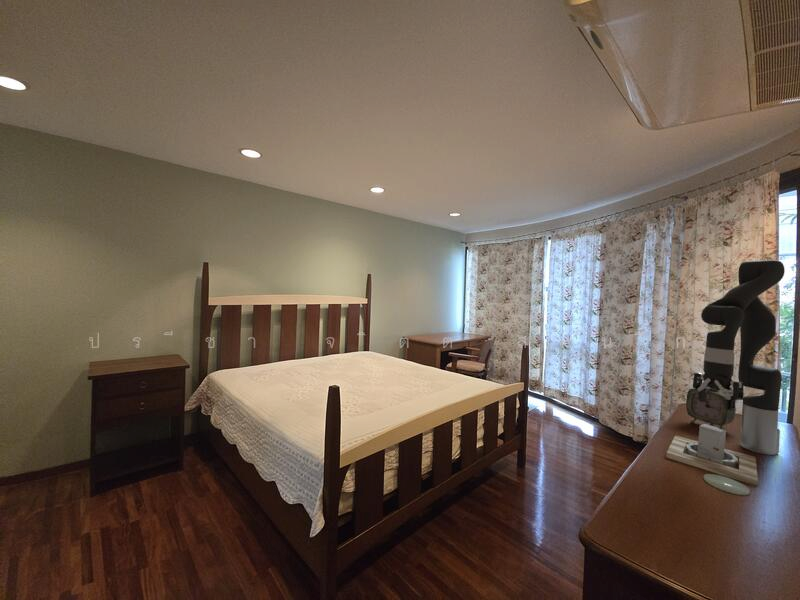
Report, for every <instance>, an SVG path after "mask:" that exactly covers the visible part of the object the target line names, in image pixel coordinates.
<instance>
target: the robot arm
mask: <svg viewBox="0 0 800 600" xmlns="http://www.w3.org/2000/svg"><path fill="white" fill-rule="evenodd" d="M785 271H786V269H785V265H784V263H783V262H782V261H781V260H777V259H763V260H748V261H747V260H746V261H742V263H741V264H740V265H739V267H738V274H737V275H738V276H737V277H738V285H736V286H734V287H733V288H731V289H729V291H727V292H726V293H725V294H724V295H723V296H722V298H719V299H717V300H715V301H713V302H711V303H708V304H707V305H706V306H704V308H703V309H702V311H701V313H700V317H701V320H702V321H703V322H704V323H705V324H707V325H713V326H724V327H723V329H722V330H717V331H709V332H708V333H707V334H706V342H705V343H706V344H705V350H704V357H703V369H702V371H703V372H704V374H703V373H702V372H694V373H693V380H692V381H693V382H692V389H694V388H695V389H697V390H698V391H699V393H698V399H699V401H700V402H706V397H707V392H706V391H707V390H708V389H710V388H715V389H717V390H719V391H721V392H722V393H724V394H725V396H726V398H727V399H726V410H729V411H733V409H735V407H736V401H739V400H740V401H742V412H741V416H742V417H741V431H740V432H741V433H740V446H741V447H742V448H744V449H746V450H749V451H751V452H753V453H758V454H763V455H767V456H776V455H779V454H780V453H779V452H780V437H781V435H780V434H781V430H780V429H779V428H778V422H779V405H780V396H781V395H780V394H781V388H782V381H783V379H782V378H783V377H782V376H783V375H782V373H781V371H780V370H779V369H778V368H774V367H769V366H768V367H767V366H761V365H755V364H754V360H755V358H756V355H757V354H758V353H759V352H760V351H761V350H762V349H763V348H765V346H766V345H768V343H770V342H771V341H772V340H773V339H774V337H775V335H776V331H777V329H776V328H777V327H776V326H777V325H776V323H777V319H776V318H777V317H776V316H775V314H774V313H773V312H772V310H771V309H770V308H768V306H767V305H766V304H765V303H764V302H763V301H762V299H760V295H761V294H763V293H765V292H766V291H768V290H769V289H771V288H772V287H773V286H775V285H777V284H778V283H780V282H781V280H782V279H783V278H784V276H785V273H786V272H785ZM738 332H740V333H739V334H740V353H739V360H738V361H739V362H738V363H739V364H738V373H737V376H738V377H737V378H738V381H735V380H733V379H732V378H733V377H734V367H735V344H736V343H735V341H736V340H735V339H736V338H737V334H738ZM703 379H704V380H705V381H704V380H703ZM744 387H746V388H751V389H755V390H760V391H764V392H763V394H761V395H746V396H744ZM778 453H779V454H778Z"/></svg>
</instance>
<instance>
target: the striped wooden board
mask: <svg viewBox="0 0 800 600" xmlns="http://www.w3.org/2000/svg"><path fill="white" fill-rule="evenodd" d="M690 443H695V444H698V441H697V440H694V439H690V438H686V437H683V436H679V435H674V437H673V439H672V441H671V442H670V445H669V447H668V449H667V451H666V458H667V459H670V460H673V461H676V462H679V463H683V464H685V465H688V466H689V465H690V466H692V467H696V468H699V469H702V470H705V471H707V472H708V471H709V472H711V473H713V474H716V475H720V476H724V477H727V478H730V479H733V480H735V481H738V482H739V481H740V482H743V483H747V484H749V485H752V486H756V487H758V485H759V484H758V481H759V480H758V478H759V477H758V468H757V459H756V456H753V455H749V454H746V453H743V452H738V451H733V450H732V449H731V450H729V449H726V448H725V449H724V451H727V452H729V453H731V454H733V455H734V456H735V457H736V458H737V459H738V468H737V469H734V468H731V467H728V466H724V465H721V464H718V463H714V462H711V461H708V460H704V459H701V458H698V457H694V456H691V455H688V454H686V445H687V444H690Z"/></svg>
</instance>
